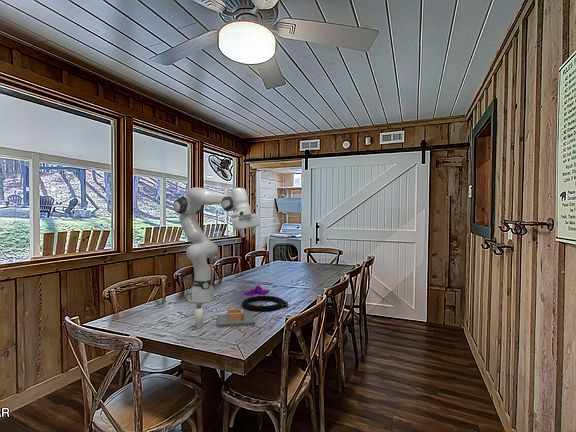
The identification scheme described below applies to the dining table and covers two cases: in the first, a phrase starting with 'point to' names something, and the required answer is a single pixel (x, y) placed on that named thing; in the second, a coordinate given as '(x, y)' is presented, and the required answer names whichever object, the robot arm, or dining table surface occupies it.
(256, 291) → the cloth
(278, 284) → the dining table surface
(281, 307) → the cable lock
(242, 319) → the holder
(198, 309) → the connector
